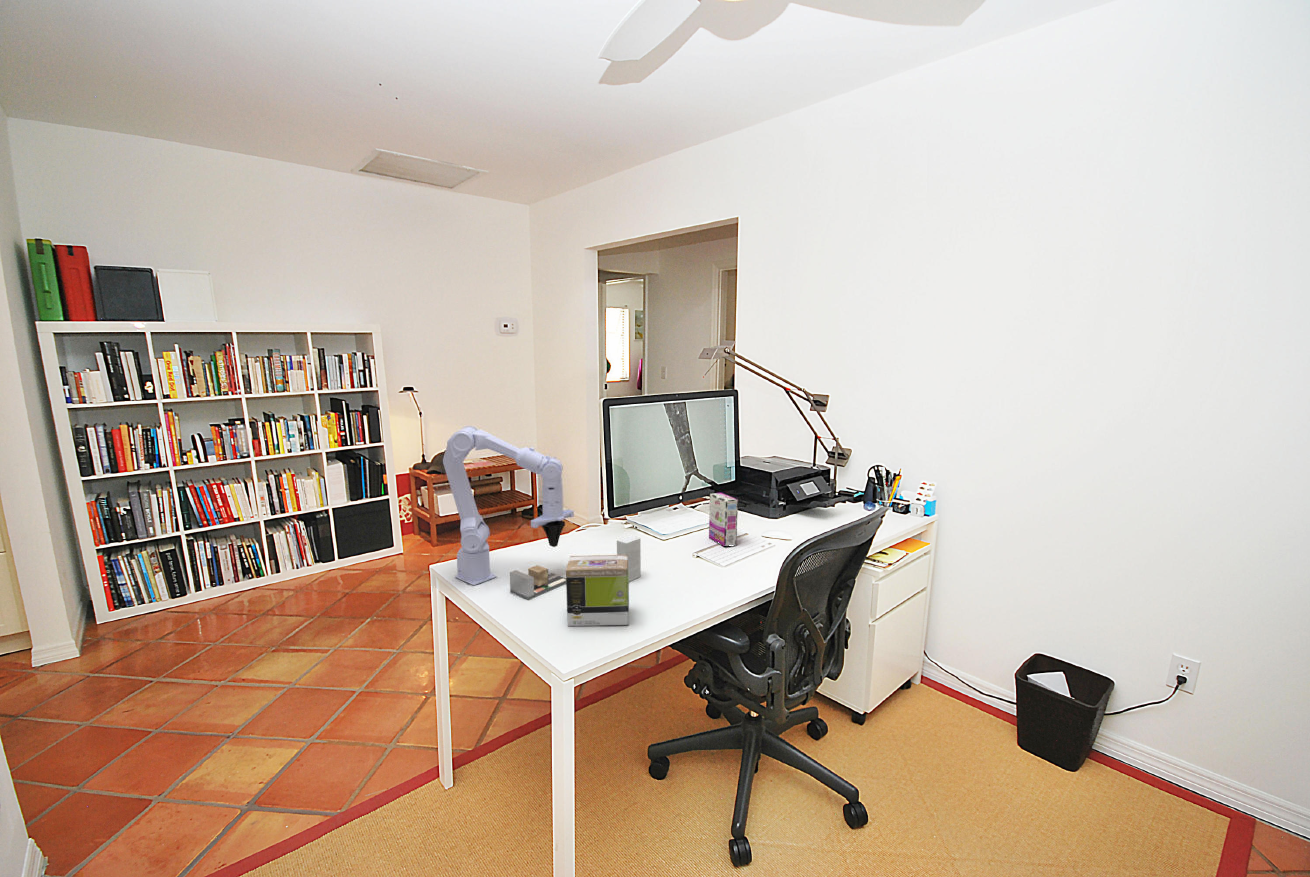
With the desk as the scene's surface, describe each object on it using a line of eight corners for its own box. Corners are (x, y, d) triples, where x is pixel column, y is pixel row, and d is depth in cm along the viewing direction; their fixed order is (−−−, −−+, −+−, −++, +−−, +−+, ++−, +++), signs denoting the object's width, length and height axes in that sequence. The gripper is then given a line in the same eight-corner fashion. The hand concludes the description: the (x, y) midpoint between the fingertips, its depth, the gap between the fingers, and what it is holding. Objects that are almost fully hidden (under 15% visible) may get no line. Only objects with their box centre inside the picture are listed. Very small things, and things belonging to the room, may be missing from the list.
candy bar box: (737, 546, 193) (738, 499, 191) (724, 548, 191) (726, 501, 189) (720, 536, 203) (721, 491, 201) (708, 538, 201) (709, 493, 199)
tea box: (629, 607, 148) (629, 553, 145) (628, 626, 138) (628, 568, 135) (571, 608, 147) (570, 553, 145) (566, 627, 137) (565, 569, 135)
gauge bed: (551, 575, 168) (551, 556, 167) (569, 582, 163) (569, 562, 162) (510, 592, 156) (509, 572, 155) (528, 600, 151) (527, 579, 150)
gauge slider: (538, 579, 162) (538, 564, 161) (553, 585, 158) (552, 570, 157) (528, 583, 159) (528, 568, 158) (543, 589, 155) (542, 574, 154)
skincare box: (630, 573, 170) (630, 534, 168) (641, 576, 167) (641, 537, 165) (616, 579, 165) (616, 539, 163) (627, 583, 163) (627, 543, 161)
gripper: (541, 508, 155) (542, 555, 158) (580, 497, 166) (581, 542, 169) (525, 503, 160) (526, 549, 162) (564, 493, 171) (565, 537, 173)
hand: (553, 545), depth 166 cm, fingers closed
